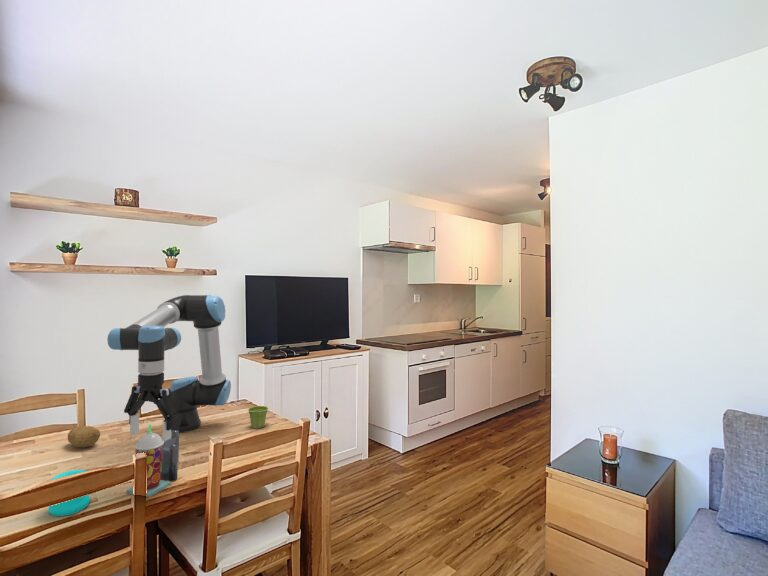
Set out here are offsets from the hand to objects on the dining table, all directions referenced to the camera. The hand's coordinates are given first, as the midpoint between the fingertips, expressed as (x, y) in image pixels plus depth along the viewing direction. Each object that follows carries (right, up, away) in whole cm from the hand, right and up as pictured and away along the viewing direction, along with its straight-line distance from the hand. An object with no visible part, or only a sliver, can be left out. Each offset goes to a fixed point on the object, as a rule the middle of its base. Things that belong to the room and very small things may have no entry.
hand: (150, 437), depth 135 cm
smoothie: (0, -16, 0) cm, 16 cm away
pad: (0, -17, 0) cm, 17 cm away
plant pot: (+17, -18, +61) cm, 66 cm away
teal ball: (-17, -17, -13) cm, 27 cm away
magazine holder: (+1, -17, +13) cm, 22 cm away
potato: (-47, -17, +34) cm, 60 cm away
